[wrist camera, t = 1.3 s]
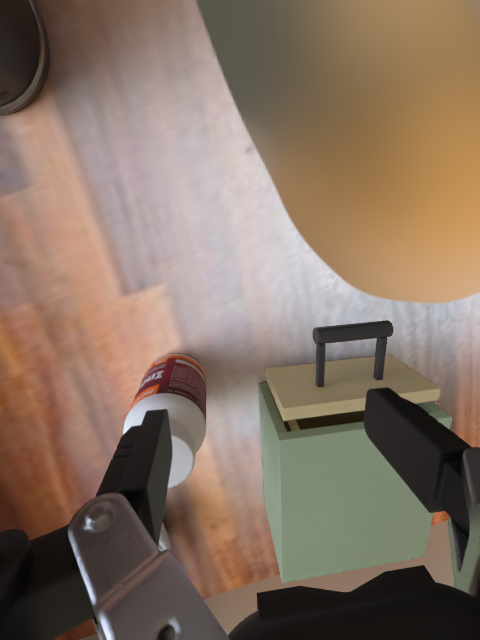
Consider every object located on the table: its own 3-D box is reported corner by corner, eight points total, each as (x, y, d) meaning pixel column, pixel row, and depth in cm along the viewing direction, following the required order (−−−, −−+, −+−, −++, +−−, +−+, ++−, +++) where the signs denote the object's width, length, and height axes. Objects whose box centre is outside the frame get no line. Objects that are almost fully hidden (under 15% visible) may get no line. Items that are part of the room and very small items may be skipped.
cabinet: (258, 383, 30) (279, 440, 22) (387, 368, 32) (453, 416, 23) (263, 500, 35) (282, 583, 27) (374, 482, 37) (424, 556, 28)
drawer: (263, 317, 27) (282, 344, 20) (395, 304, 28) (452, 326, 22) (269, 485, 33) (285, 547, 27) (376, 469, 35) (416, 523, 28)
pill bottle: (160, 341, 27) (133, 408, 17) (216, 366, 29) (223, 441, 19) (134, 392, 29) (95, 483, 18) (189, 413, 30) (181, 508, 20)
